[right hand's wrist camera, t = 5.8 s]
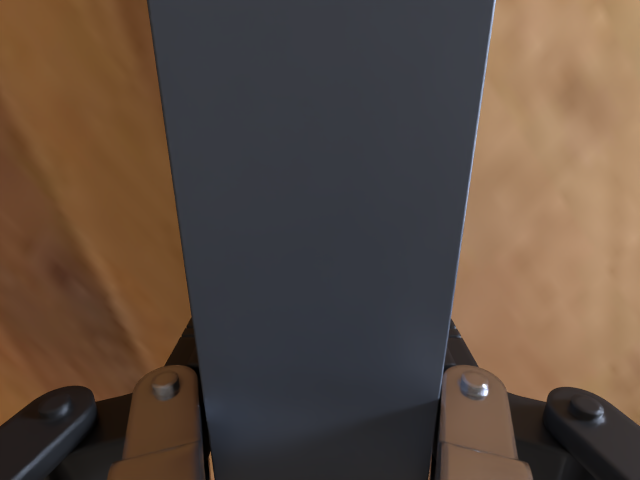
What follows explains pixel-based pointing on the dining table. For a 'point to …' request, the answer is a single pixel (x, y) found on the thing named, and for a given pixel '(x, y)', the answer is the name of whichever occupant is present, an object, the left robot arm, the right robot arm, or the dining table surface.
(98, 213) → the dining table surface
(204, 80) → the bar
